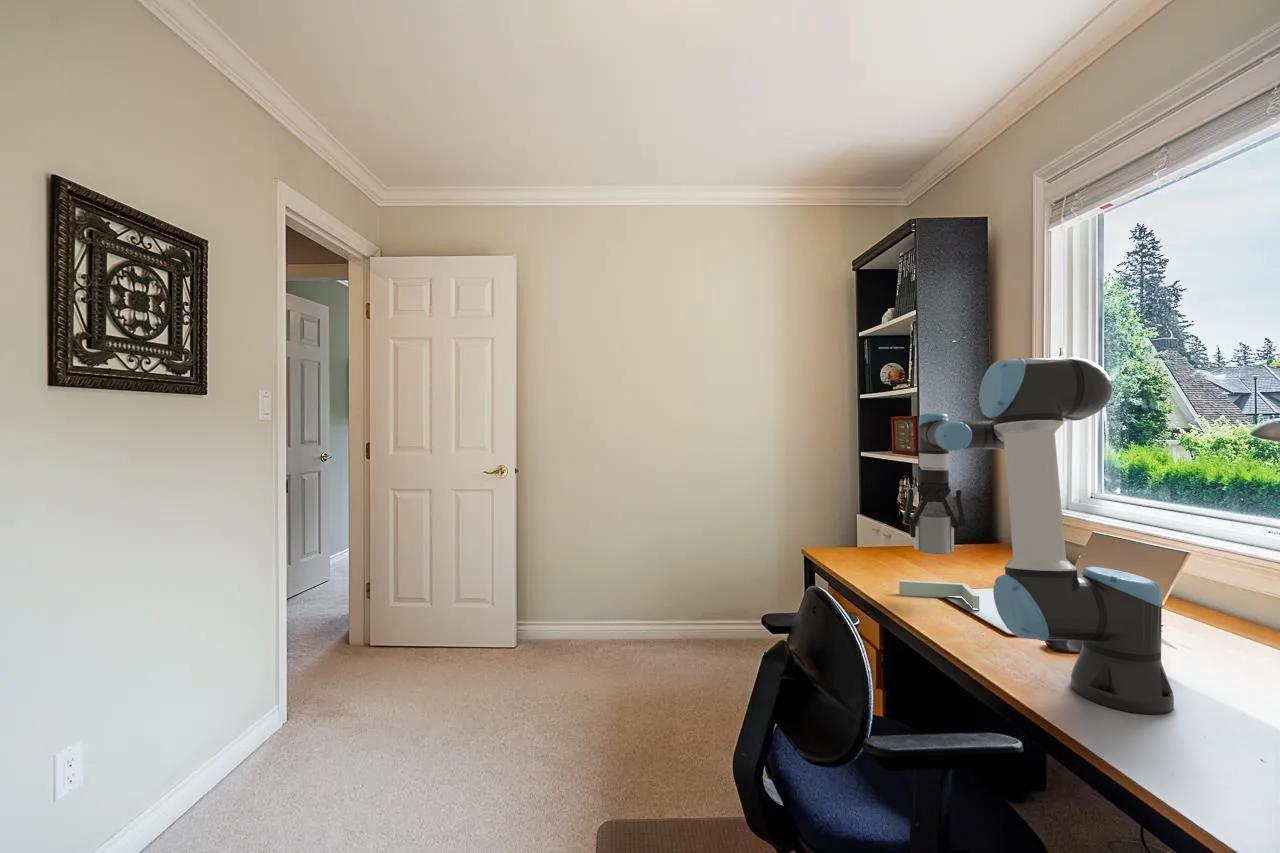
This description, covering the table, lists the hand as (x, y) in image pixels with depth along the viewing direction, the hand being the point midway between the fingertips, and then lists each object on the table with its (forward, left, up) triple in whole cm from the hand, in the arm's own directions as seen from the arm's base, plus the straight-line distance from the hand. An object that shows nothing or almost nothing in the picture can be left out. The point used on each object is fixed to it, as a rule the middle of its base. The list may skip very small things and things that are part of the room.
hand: (933, 549), depth 169 cm
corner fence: (+2, -1, -15) cm, 15 cm away
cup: (0, 0, -1) cm, 1 cm away
